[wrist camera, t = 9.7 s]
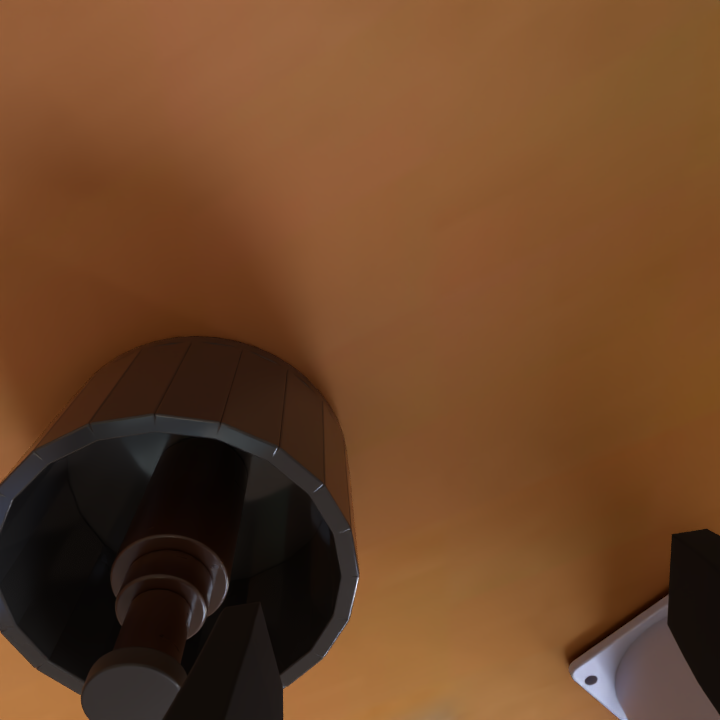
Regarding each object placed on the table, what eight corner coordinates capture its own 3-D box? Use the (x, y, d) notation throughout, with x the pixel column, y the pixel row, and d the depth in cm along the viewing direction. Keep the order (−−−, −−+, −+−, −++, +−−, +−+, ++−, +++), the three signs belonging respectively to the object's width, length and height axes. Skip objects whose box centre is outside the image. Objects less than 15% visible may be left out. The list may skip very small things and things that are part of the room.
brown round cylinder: (404, 465, 22) (432, 574, 17) (219, 622, 24) (192, 762, 19) (191, 272, 19) (144, 334, 14) (-1, 471, 21) (-103, 589, 16)
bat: (266, 476, 21) (237, 698, 13) (206, 529, 21) (143, 773, 14) (197, 419, 20) (120, 623, 12) (136, 478, 21) (25, 707, 13)
